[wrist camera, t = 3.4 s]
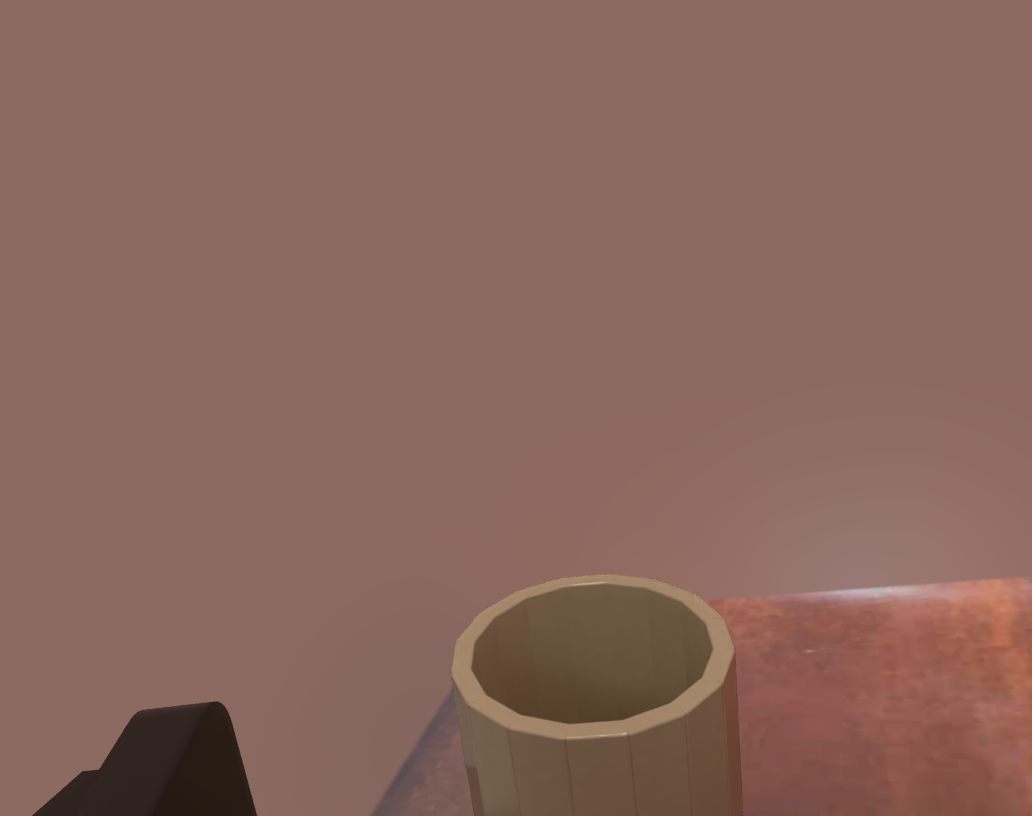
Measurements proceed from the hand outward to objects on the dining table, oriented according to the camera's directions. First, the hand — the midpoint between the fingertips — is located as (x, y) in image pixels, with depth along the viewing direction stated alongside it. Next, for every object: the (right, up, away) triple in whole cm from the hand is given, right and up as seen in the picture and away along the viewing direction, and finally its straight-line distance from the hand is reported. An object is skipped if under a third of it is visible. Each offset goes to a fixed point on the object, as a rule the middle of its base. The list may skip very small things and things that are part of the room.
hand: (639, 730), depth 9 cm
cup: (+2, -12, +16) cm, 20 cm away
